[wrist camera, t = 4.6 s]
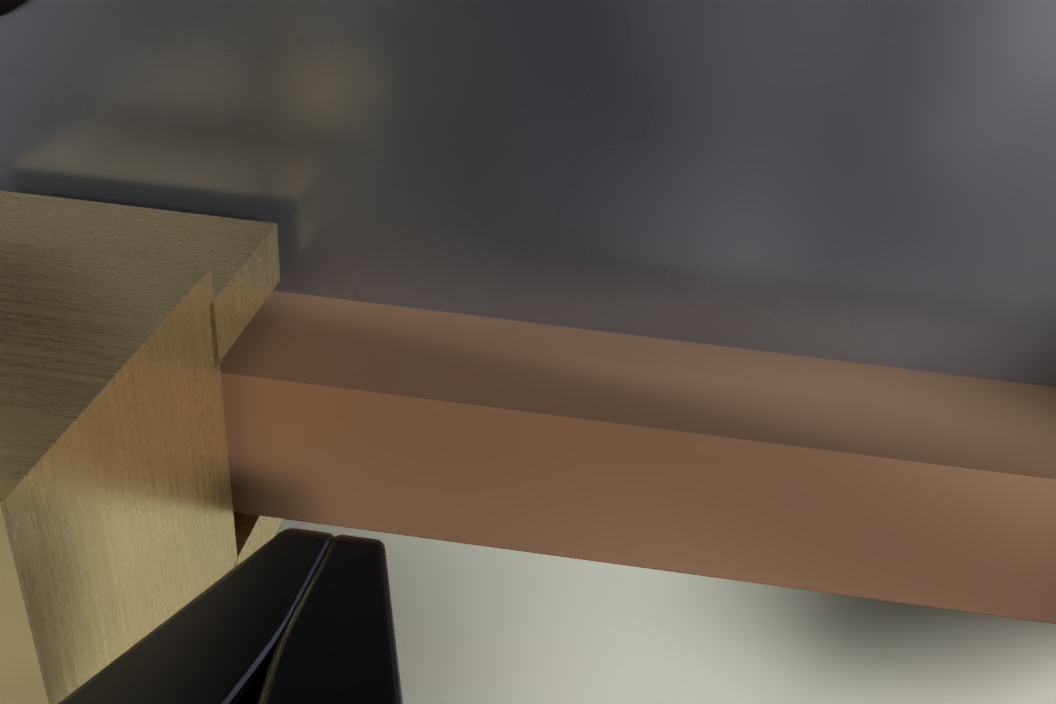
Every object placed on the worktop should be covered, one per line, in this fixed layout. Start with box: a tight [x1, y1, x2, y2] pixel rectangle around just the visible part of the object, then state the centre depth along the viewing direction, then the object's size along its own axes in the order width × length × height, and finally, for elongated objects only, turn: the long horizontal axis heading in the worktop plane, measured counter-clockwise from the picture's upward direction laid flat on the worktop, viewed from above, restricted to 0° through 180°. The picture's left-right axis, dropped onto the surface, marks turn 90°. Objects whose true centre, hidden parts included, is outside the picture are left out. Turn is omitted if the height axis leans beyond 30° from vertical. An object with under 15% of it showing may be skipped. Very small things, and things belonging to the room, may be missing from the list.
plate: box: [0, 0, 1056, 387], centre depth 10 cm, size 9×26×1 cm, turn 85°
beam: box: [220, 291, 1056, 624], centre depth 8 cm, size 7×25×5 cm, turn 85°
